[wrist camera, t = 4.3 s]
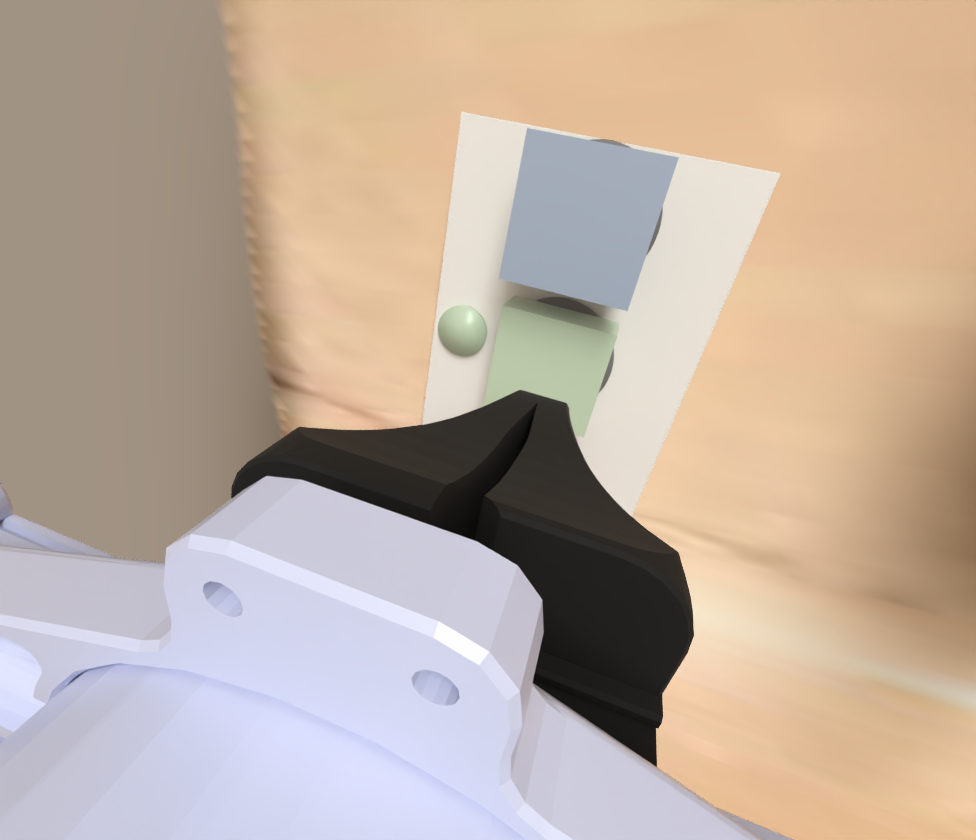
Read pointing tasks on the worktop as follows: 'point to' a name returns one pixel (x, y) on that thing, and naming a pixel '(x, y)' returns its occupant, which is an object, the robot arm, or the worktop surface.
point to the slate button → (584, 217)
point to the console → (643, 328)
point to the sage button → (551, 356)
